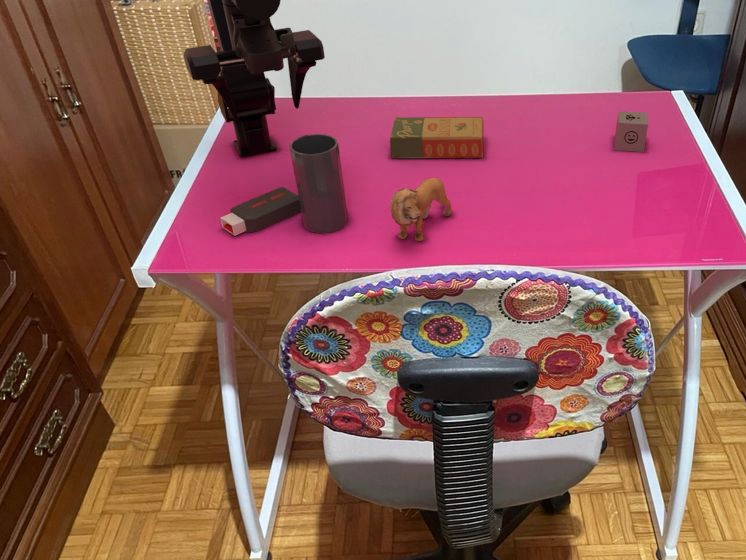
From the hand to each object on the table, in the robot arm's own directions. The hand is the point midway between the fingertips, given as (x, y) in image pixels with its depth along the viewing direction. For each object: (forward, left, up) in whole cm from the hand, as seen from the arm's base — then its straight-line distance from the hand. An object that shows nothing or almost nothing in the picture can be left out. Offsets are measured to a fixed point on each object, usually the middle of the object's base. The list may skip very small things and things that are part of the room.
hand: (266, 113), depth 108 cm
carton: (-3, +29, -13) cm, 32 cm away
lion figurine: (+21, +16, -13) cm, 29 cm away
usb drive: (+7, -5, -13) cm, 16 cm away
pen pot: (+12, +4, -13) cm, 18 cm away
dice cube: (+11, +60, -13) cm, 62 cm away
